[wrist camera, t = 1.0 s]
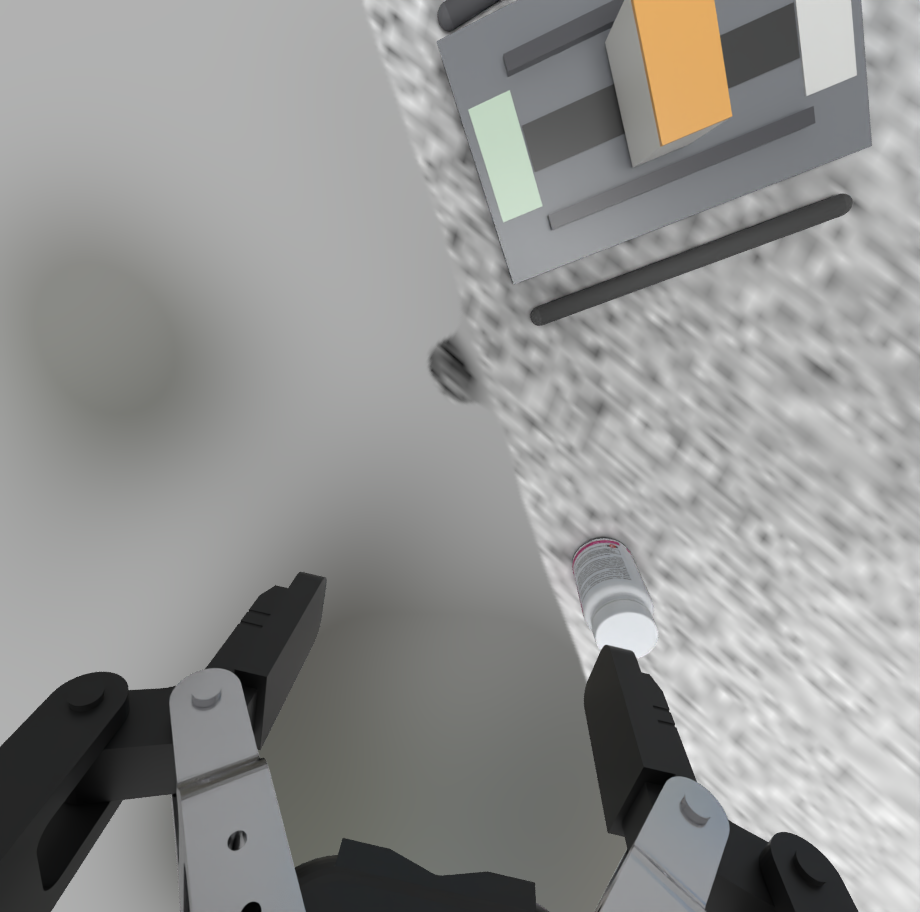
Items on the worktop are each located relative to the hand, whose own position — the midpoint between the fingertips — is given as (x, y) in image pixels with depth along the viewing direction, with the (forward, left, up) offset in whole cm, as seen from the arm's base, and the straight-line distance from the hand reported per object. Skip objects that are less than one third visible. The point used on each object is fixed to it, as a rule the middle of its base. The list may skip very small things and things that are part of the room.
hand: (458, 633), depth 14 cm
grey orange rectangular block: (-14, -14, -20) cm, 28 cm away
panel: (-15, -14, -23) cm, 31 cm away
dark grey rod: (-15, -5, -23) cm, 28 cm away
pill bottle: (-5, +15, -23) cm, 28 cm away
